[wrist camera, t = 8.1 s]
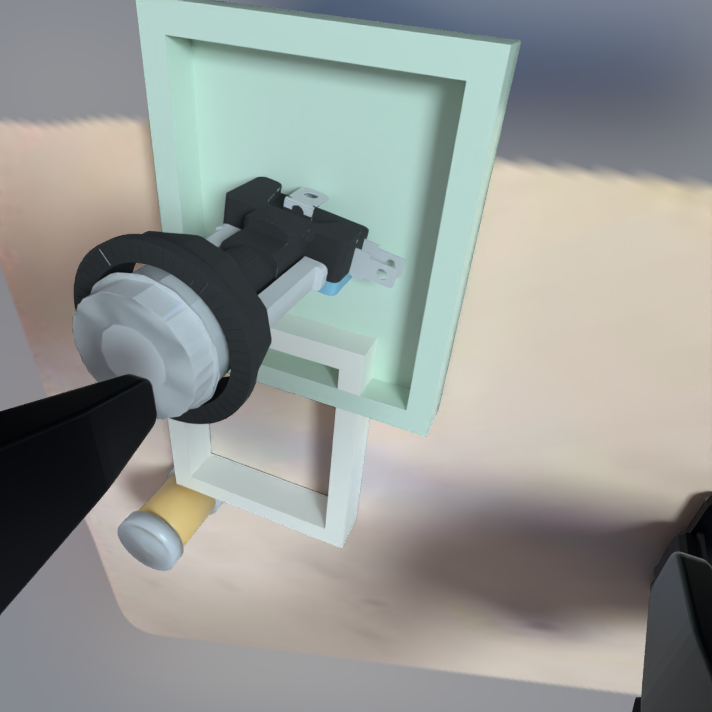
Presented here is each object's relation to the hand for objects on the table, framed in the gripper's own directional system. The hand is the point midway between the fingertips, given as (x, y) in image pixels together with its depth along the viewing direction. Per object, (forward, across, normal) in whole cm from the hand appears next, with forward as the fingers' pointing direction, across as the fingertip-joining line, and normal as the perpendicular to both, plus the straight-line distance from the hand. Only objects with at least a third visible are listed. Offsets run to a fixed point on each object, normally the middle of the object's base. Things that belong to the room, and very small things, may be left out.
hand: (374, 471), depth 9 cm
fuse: (+13, +14, +19) cm, 27 cm away
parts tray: (+13, +7, +1) cm, 14 cm away
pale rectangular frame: (+13, +9, +11) cm, 19 cm away
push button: (+12, +6, +1) cm, 14 cm away
